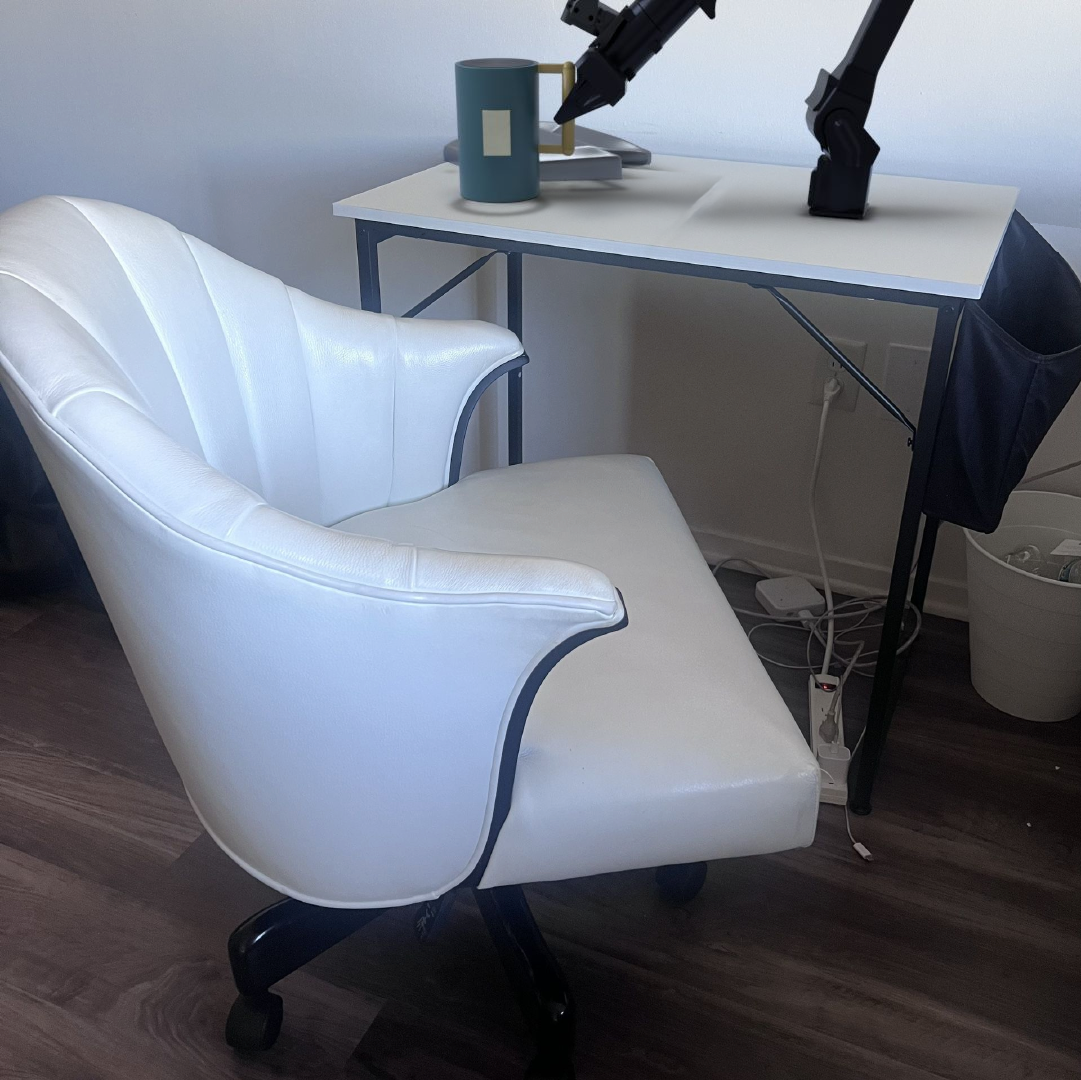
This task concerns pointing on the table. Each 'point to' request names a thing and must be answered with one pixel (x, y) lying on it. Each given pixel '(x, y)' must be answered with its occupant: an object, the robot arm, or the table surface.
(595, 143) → the emblem
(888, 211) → the table surface
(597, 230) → the table surface
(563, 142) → the teal coffee mug
